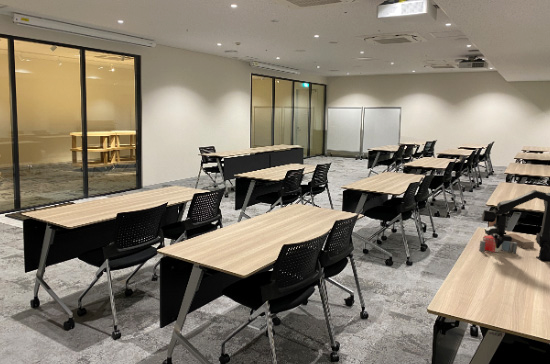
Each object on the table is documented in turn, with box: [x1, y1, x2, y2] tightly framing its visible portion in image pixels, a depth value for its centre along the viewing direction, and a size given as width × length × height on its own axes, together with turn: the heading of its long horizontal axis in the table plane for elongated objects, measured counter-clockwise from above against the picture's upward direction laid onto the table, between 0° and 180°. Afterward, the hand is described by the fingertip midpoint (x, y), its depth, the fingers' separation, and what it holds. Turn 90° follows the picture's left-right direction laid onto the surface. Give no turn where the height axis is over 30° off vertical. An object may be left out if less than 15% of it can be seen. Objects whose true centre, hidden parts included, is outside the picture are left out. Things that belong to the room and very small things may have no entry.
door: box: [500, 241, 513, 254], centre depth 265 cm, size 3×16×6 cm, turn 39°
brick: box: [506, 233, 535, 249], centre depth 277 cm, size 17×8×5 cm, turn 16°
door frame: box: [478, 240, 518, 254], centre depth 260 cm, size 2×21×6 cm, turn 88°
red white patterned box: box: [482, 234, 502, 253], centre depth 264 cm, size 8×8×8 cm
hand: (497, 248), depth 256 cm, fingers closed
